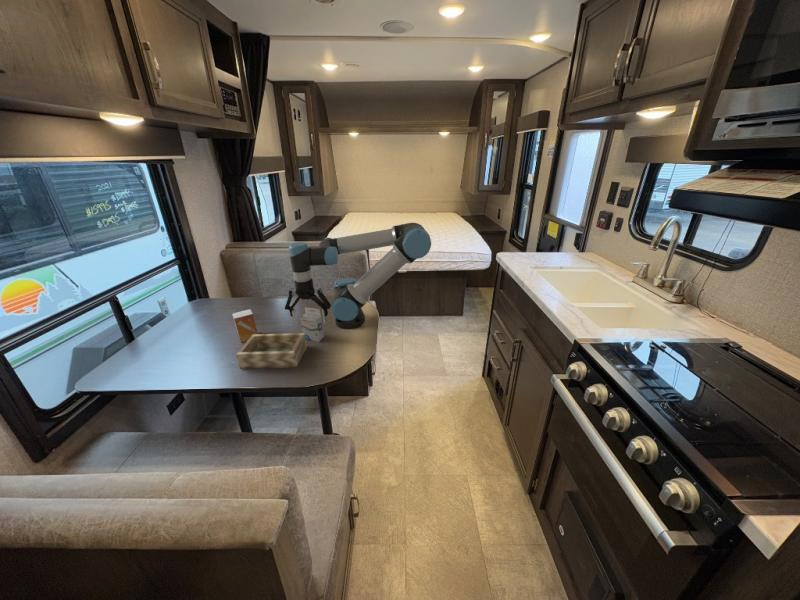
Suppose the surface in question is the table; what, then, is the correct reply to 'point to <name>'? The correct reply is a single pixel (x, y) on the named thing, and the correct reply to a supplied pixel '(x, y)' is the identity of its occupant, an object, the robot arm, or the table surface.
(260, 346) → the crate
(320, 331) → the ink box
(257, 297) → the table surface
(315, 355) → the table surface
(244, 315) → the small box
